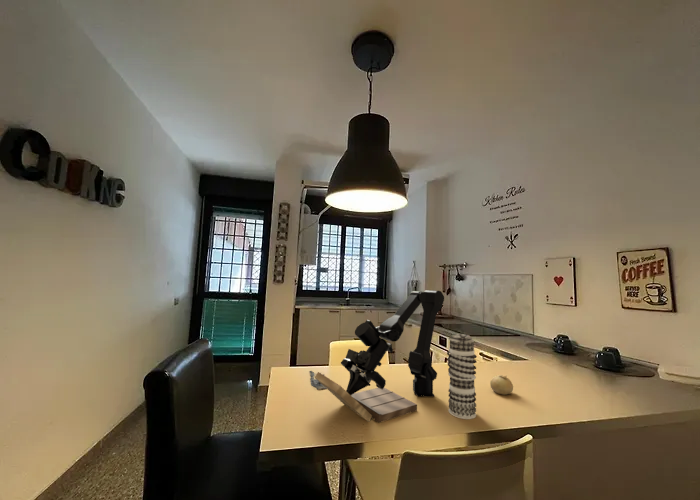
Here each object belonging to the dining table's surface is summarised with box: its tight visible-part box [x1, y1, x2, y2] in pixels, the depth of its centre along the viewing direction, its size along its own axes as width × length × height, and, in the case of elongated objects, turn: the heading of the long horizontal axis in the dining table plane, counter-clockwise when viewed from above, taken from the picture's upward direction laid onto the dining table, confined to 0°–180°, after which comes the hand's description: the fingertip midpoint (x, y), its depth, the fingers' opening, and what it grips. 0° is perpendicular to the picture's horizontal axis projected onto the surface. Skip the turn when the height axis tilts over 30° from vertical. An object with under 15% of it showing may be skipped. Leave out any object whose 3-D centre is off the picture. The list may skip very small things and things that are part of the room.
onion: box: [490, 374, 514, 396], centre depth 116 cm, size 8×8×7 cm
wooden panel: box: [351, 387, 418, 424], centre depth 102 cm, size 16×18×2 cm
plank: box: [314, 372, 372, 422], centre depth 94 cm, size 2×14×16 cm
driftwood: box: [308, 370, 328, 390], centre depth 125 cm, size 21×7×2 cm, turn 9°
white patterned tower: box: [446, 333, 477, 420], centre depth 99 cm, size 9×9×25 cm
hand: (346, 395), depth 95 cm, fingers closed, pressing on plank
